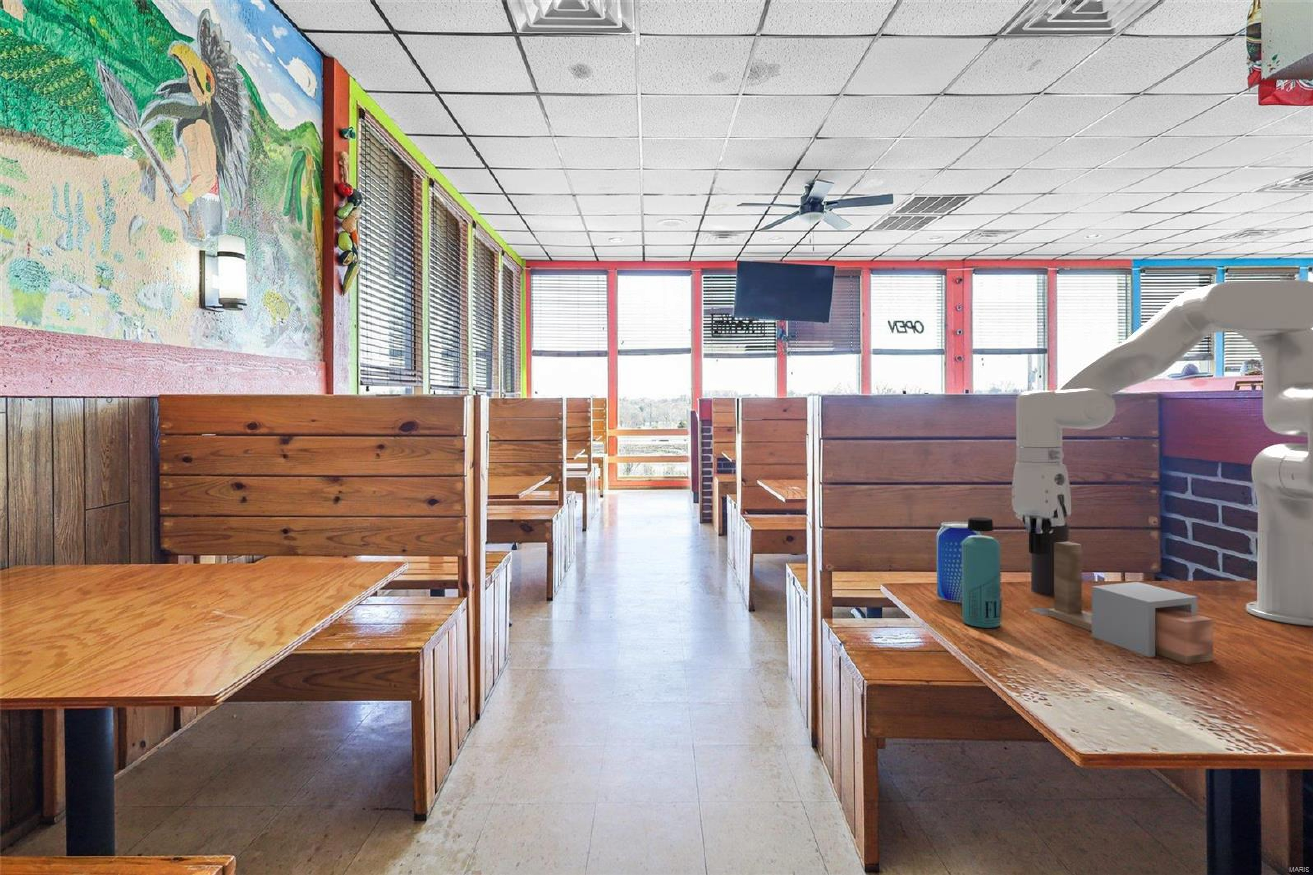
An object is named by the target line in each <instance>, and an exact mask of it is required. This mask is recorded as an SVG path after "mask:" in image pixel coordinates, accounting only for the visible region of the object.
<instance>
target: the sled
mask: <svg viewBox="0 0 1313 875" xmlns="http://www.w3.org/2000/svg"><path fill="white" fill-rule="evenodd" d="M1082 546H1083V545H1082V544H1081V543H1077V542H1072V541H1069V542H1055V543H1054V596H1053V605H1054V606H1053V607H1054V608H1052V609H1047V615H1046V616H1047V617H1051V618H1054V619H1056V620H1060V621H1062V622H1065V623H1067V624H1071V625H1074V626H1076V627H1080V628H1083V629H1085V630H1086V631H1091V632H1092V612H1088V611H1084V610H1082V609H1083V607H1082V606H1083V604H1082V602H1083V600H1082V598H1083V597H1082V596H1083V595H1082V594H1083V592H1082V591H1083V590H1082V589H1083V587H1082V586H1083V584H1082V582H1083V580H1082V578H1083V576H1082V575H1083V574H1082V572H1083V571H1082V569H1083V568H1082V567H1083V566H1082V564H1083V561H1082V560H1083V558H1082V556H1083V551H1082V550H1083V547H1082ZM1155 655H1158V656H1162V657H1165V658H1168V659H1169V660H1173V661H1175V662H1178V663H1181V664H1185V665H1191V664H1198V663H1205V662H1213V661H1214V618H1211V617H1207V616H1204V615H1199V614H1197V615H1196V614H1193V613H1189V612H1185V611H1182V610H1178V609H1175V608H1171V607H1160V608H1155Z"/></svg>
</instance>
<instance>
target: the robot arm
mask: <svg viewBox="0 0 1313 875" xmlns="http://www.w3.org/2000/svg"><path fill="white" fill-rule="evenodd" d="M1312 328H1313V281H1308V280H1304V279H1303V280H1301V279H1298V280H1297V279H1294V280H1286V279H1285V280H1249V281H1248V280H1247V281H1246V280H1244V281H1241V280H1240V281H1224V282H1222V281H1221V282H1218V283H1213V284H1209V285H1205V286H1202V287H1199V288H1194V289H1191V290H1188V291H1185V292H1183V293H1182V294H1180V295H1178V296H1177V297H1175V298H1174V299H1173V300H1172V301H1170V302H1169V303H1168V304H1167V305H1165V306H1164V307H1163V308H1162V309H1160V310H1159V312H1157V313H1156V314H1155V315H1153V317H1151V318H1150V319H1149V320H1148V321H1146V323H1145V324H1143V325H1142V326H1140V327H1139V329H1137V330H1136V331H1135V332H1134V333H1132V334H1131V335H1130V336H1129V337H1128V338H1126V339H1125V340H1124V341H1123V342H1121V343H1120V344H1118V345H1116V346H1115V347H1113V348H1111V349H1110V350H1109V351H1107V352H1106V353H1104V354H1102V355H1101V356H1100V357H1098V358H1097V359H1095V360H1094V361H1092V362H1091V363H1089V364H1088V365H1086V366H1084V367H1083V368H1082V369H1081V370H1079V371H1077V372H1076V373H1075V374H1074V375H1072V376H1071V377H1070V378H1069V379H1067V381H1065V382H1064V383H1063V384H1062V385H1061V386H1060V387H1058V388H1057V389H1056V390H1031V391H1030V390H1027V391H1023V392H1020V393H1019V394H1018V395H1017V397H1016V404H1015V405H1016V406H1015V410H1016V411H1015V414H1016V418H1015V419H1016V427H1015V428H1016V437H1015V438H1016V462H1015V463H1014V469H1013V476H1012V485H1011V505H1012V510H1013V512H1015V515H1014V516H1015V518H1016V519H1018V520H1020V521H1021V522H1023V524H1024V526H1025V530H1026V532H1027V533H1028V552H1029V554H1031V553H1032V554H1036V555H1040V554H1049V552H1050V533H1052V531H1053V528H1054V527H1055V526H1063V525H1065V522H1066V521H1065V518H1068V517H1070V516H1071V514H1072V498H1071V496H1072V494H1071V486H1070V479H1069V475H1068V473H1069V472H1068V469H1067V466H1066V464H1063V459H1064V458H1065V453H1064V452H1063V429H1075V430H1076V429H1077V430H1094V429H1099V428H1101V427H1104V426H1105V425H1107V424H1109V422H1111V421H1112V419H1113V418H1114V417H1115V414H1116V403H1115V401H1114V399H1113V397H1112V396H1113V395H1115V394H1117V393H1119V392H1121V391H1122V390H1124V389H1127V388H1129V387H1131V386H1135V385H1137V384H1141V383H1143V382H1146V381H1148V380H1152V379H1154V378H1156V377H1157V376H1159V375H1161V374H1164V373H1165V372H1166V371H1167V370H1168V369H1170V368H1171V367H1172V366H1173V365H1174V364H1176V363H1177V362H1178V361H1179V360H1180V359H1182V358H1183V357H1184V356H1185V355H1186V354H1187V353H1188V352H1190V351H1191V350H1192V349H1193V348H1194V347H1196V346H1197V345H1198V344H1199V343H1200V342H1202V341H1203V340H1204V339H1205V338H1206V337H1208V336H1210V335H1211V334H1215V333H1223V332H1229V331H1233V332H1235V333H1237V334H1238V335H1240V336H1241V337H1243V338H1245V339H1246V340H1247V341H1248V342H1249V343H1250V344H1252V345H1253V347H1255V348H1256V350H1257V352H1258V353H1259V355H1260V357H1261V361H1262V372H1263V373H1262V374H1263V375H1262V376H1263V379H1262V380H1263V381H1262V382H1263V383H1262V384H1263V385H1262V418H1263V422H1264V425H1265V426H1266V427H1267V428H1268V430H1270V431H1272V432H1273V433H1276V434H1279V435H1284V436H1295V437H1307V443H1298V442H1297V443H1295V442H1292V443H1291V442H1289V443H1288V442H1286V443H1278V444H1273V445H1271V446H1268V447H1266V448H1263V450H1261V451H1260V452H1259V453H1258V454H1256V456H1255V458H1253V461H1252V464H1251V479H1252V484H1253V487H1254V493H1255V495H1256V504H1257V574H1256V575H1257V578H1256V579H1257V580H1256V581H1257V582H1256V583H1257V585H1256V586H1257V587H1256V594H1257V596H1256V598H1257V599H1256V600H1255V601H1250V602H1248V603H1246V604H1245V611H1246V612H1248V613H1249V614H1251V615H1252V616H1256V617H1258V618H1262V619H1266V620H1270V621H1273V622H1274V621H1275V622H1279V623H1284V624H1290V625H1291V624H1292V625H1300V626H1310V627H1313V329H1312ZM1044 521H1045V522H1044Z"/></svg>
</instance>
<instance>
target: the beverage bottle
mask: <svg viewBox="0 0 1313 875" xmlns="http://www.w3.org/2000/svg"><path fill="white" fill-rule="evenodd" d="M967 522H968V530H972V531H979V532H985V533H986V532H993V531H994V521H993V519H992V518H989V517H984V516H983V517H982V516H981V517H980V516H978V517H977V516H974V517H969V518H968V520H967ZM981 535H982V534H981ZM981 535H972V536H968V537H967V538H965V539H964V540H963V541H962V543H961V545H962V594H961V595H962V603H961V613H960V614H961V615H960V616H961V618H962V622H964V623H965V624H966V625H969V626H973V627H977V628H987V629H988V628H997V627H999V626H1000V625H1001V623H1002V617H1003V614H1002V612H1003V611H1002V610H1003V608H1002V604H1003V603H1002V602H1003V598H1002V597H1001V596H1002V589H1001V588H1002V586H1001V584H1002V582H1001V580H1002V576H1003V575H1002V567H1001V566H1002V563H1001V562H1002V561H1001V544H1000V542H999V540H997V539H996V538H995V537H992V536H988V535H982V536H981Z"/></svg>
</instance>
